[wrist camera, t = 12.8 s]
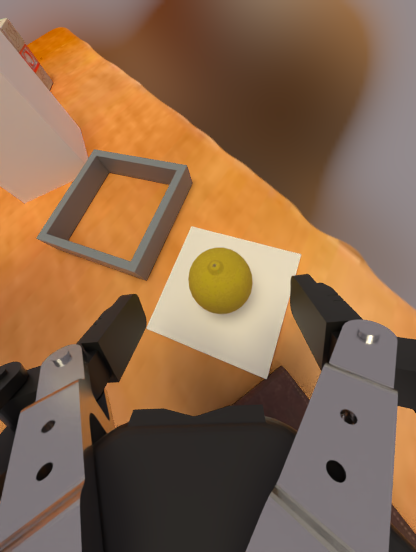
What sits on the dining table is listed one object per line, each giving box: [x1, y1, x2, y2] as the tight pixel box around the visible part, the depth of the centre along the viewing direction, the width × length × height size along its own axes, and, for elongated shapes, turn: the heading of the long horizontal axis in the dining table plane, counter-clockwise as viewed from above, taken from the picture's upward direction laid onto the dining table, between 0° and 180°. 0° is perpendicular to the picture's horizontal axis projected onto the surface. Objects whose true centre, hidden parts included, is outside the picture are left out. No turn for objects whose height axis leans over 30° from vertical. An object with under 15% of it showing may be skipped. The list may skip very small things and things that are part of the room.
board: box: [146, 226, 301, 379], centre depth 22 cm, size 13×13×1 cm
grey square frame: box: [36, 150, 192, 281], centre depth 27 cm, size 15×15×3 cm
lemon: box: [188, 248, 253, 314], centre depth 18 cm, size 6×6×8 cm
